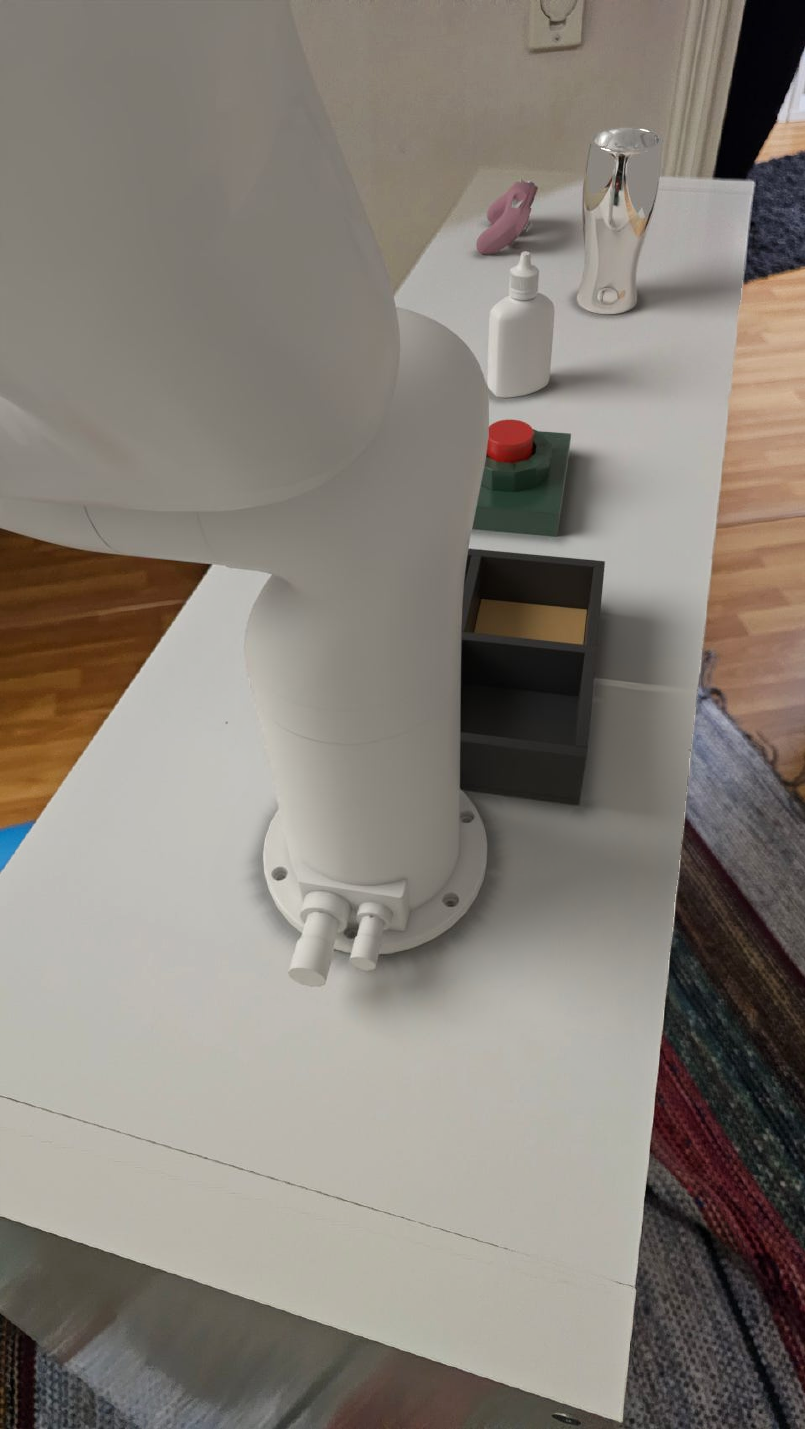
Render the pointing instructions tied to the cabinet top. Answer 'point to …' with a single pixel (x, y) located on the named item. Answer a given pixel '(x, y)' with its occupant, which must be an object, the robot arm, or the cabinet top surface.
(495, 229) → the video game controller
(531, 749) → the tray
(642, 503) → the cabinet top surface
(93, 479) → the robot arm
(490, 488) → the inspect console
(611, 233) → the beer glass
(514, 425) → the button
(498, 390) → the eye dropper bottle
